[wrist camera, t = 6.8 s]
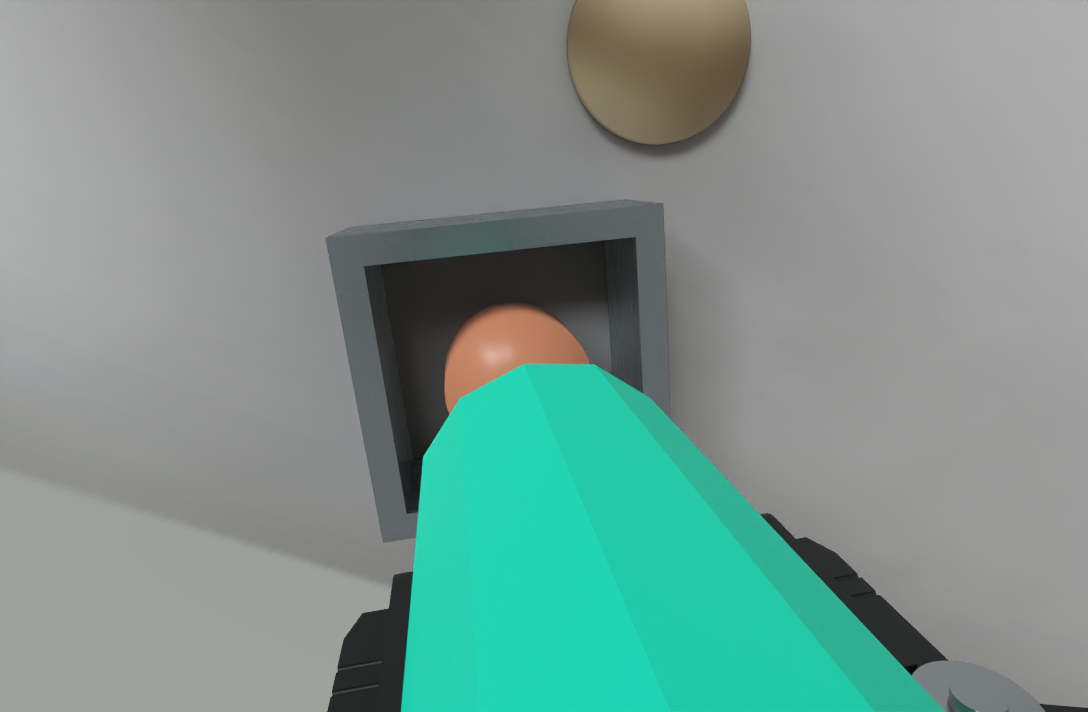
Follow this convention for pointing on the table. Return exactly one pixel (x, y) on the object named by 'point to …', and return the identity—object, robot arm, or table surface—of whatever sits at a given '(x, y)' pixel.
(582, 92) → the coaster
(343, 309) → the gray open box
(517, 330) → the orange egg shape
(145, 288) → the table surface
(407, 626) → the robot arm
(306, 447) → the table surface
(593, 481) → the candle
